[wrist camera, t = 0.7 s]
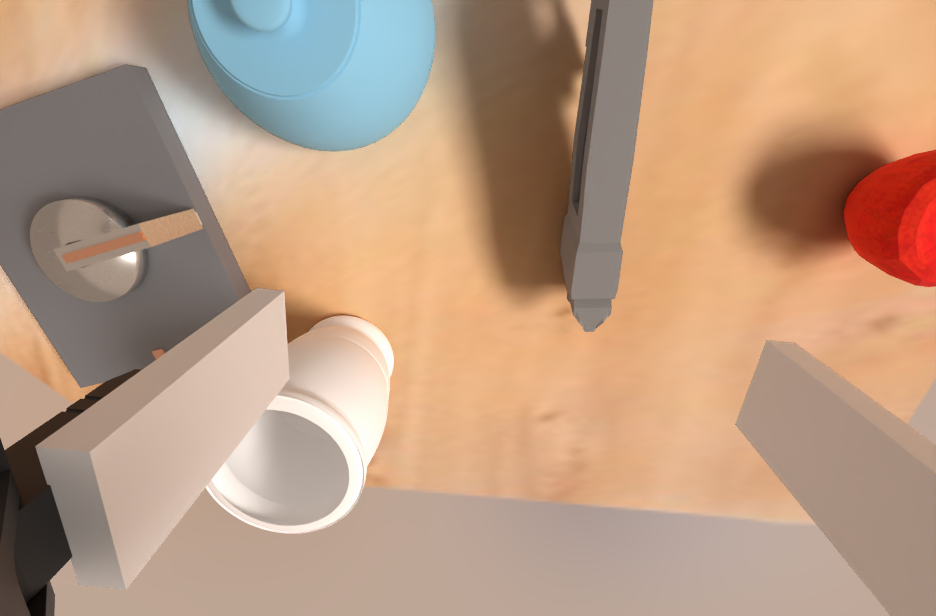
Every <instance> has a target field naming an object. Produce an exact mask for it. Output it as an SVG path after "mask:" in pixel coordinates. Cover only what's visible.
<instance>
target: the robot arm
mask: <svg viewBox="0 0 936 616" xmlns="http://www.w3.org/2000/svg"><path fill="white" fill-rule="evenodd" d="M289 379H290V377H289V360H288V343H287V326H286V309H285V293H284V291H281V290H271V289H261V288H256V289H254V290H253V291H252V292H250V293H249V294H247V295H246V296H245V297H243V298H242V299H240V300H239V301H238V302H236V303H235V304H233V305H232V306H231V307H229V308H228V309H226V310H225V311H224V312H222V313H221V314H219V315H218V316H217V317H215V318H214V319H212V320H211V321H210V322H208V323H207V324H205V325H204V326H203V327H201V328H200V329H198V330H197V331H196V332H194V333H193V334H191V335H190V336H189V337H187V338H186V339H184V340H183V341H182V342H180V343H179V344H177V345H176V346H175V347H173V348H172V349H171V350H169V351H168V352H166V353H165V354H164V355H162V356H161V357H159V358H158V359H157V360H155V361H154V362H152V363H151V364H150V365H148V366H147V367H145V368H144V369H143V370H141V369H134V370H132V371H130V372H127V373H125V374H122V375H120V376H117V377H115V378H113V379H110V380H108V381H106V382H105V383H103V384H102V385H100V386H99V387H97V388H96V389H94V390H93V391H91V392H90V393H88V394H87V395H85V399H80V400H78V401H77V402H75V403H74V404H72V405H71V406H69V407H68V408H67V410H66V412H61V413H59V414H58V415H56V416H55V417H53V418H52V419H50V420H49V421H47V422H46V423H44V424H43V425H41V426H40V427H38V428H37V429H35V430H34V431H33V432H31V433H30V434H28V435H27V436H25V437H24V438H22V439H21V440H19V441H18V442H16V443H15V444H13V445H12V446H10V447H9V448H7V449H6V450H4V448H3V445H2V442H1V439H0V616H54V607H55V594H54V591H53V589H52V586H51V583H50V580H51V578H52V577H53V576H54V575H55V574H56V573H57V572H58V571H59V570H60V569H61V568H62V567H63V566H64V565H65V564H66V563H67V562H68V561H69V560H70V559H71V561H72V565H73V568H74V571H75V574H76V577H77V581H78V584H79V585H84V586H93V587H103V588H113V589H122V590H126V589H127V588H128V586H129V585H130V584H131V583H132V581H133V580H134V579H135V578H136V576H137V575H138V574H139V572H140V571H141V570H142V568H143V567H144V566H145V565H146V563H147V562H148V561H149V559H150V558H151V557H152V556H153V554H154V553H155V552H156V551H157V549H158V548H159V547H160V545H161V544H162V543H163V541H164V540H165V539H166V538H167V536H168V535H169V534H170V532H171V531H172V530H173V528H174V527H175V526H176V525H177V523H178V522H179V521H180V520H181V518H182V517H183V516H184V514H185V513H186V512H187V510H188V509H189V508H190V507H191V505H192V504H193V503H194V501H195V500H196V499H197V498H198V496H199V495H200V494H201V492H202V491H203V490H204V489H205V487H206V486H207V485H208V483H209V482H210V481H211V480H212V478H213V477H214V476H215V474H216V473H217V472H218V471H219V469H220V468H221V467H222V465H223V464H224V463H225V461H226V460H227V459H228V458H229V456H230V455H231V454H232V452H233V451H234V450H235V449H236V447H237V446H238V445H239V443H240V442H241V441H242V440H243V438H244V437H245V436H246V434H247V433H248V432H249V431H250V429H251V428H252V427H253V425H254V424H255V423H256V421H257V420H258V419H259V418H260V416H261V415H262V414H263V412H264V411H265V410H266V409H267V407H268V406H269V405H270V403H271V402H272V401H273V400H274V398H275V397H276V396H277V394H278V393H279V392H280V391H281V389H282V388H283V387H284V385H285V384H286V383H287V381H288V380H289ZM735 425H736V426H737V427H738V429H739V430H740V431H741V432H742V433H743V435H744V436H745V437H746V438H747V440H748V441H749V442H750V443H751V445H752V446H753V447H754V448H755V449H756V451H757V452H758V453H759V454H760V456H761V457H762V458H763V459H764V461H765V462H766V463H767V464H768V465H769V467H770V468H771V469H772V470H773V472H774V473H775V474H776V475H777V477H778V478H779V479H780V480H781V481H782V483H783V484H784V485H785V486H786V488H787V489H788V490H789V491H790V493H791V494H792V495H793V496H794V497H795V499H796V500H797V501H798V502H799V504H800V505H801V506H802V507H803V509H804V510H805V511H806V512H807V513H808V515H809V516H810V517H811V518H812V520H813V521H814V522H815V523H816V525H817V526H818V527H819V528H820V530H821V531H822V532H823V533H824V534H825V535H826V537H827V538H828V539H829V541H830V542H831V543H832V544H833V546H834V547H835V548H836V549H837V550H838V552H839V553H840V554H841V555H842V557H843V558H844V559H845V560H846V561H847V563H848V564H849V565H850V566H851V568H852V569H853V570H854V571H855V573H856V574H857V575H858V576H859V577H860V579H861V580H862V581H863V582H864V584H865V585H866V586H867V587H868V588H869V590H870V591H871V592H872V594H873V595H874V596H875V597H876V598H877V600H878V601H879V602H880V603H881V604H882V606H883V607H884V608H885V610H886V611H887V612H888V613H889V614H890V616H936V445H935V444H934V443H932V442H931V441H930V440H928V439H927V438H925V437H924V436H923V435H921V434H920V433H919V432H917V431H916V430H915V429H913V428H912V427H910V426H909V425H908V424H906V423H905V422H903V421H902V420H901V419H899V418H898V417H897V416H895V415H894V414H892V413H891V412H890V411H888V410H887V409H886V408H884V407H883V406H881V405H880V404H879V403H877V402H876V401H874V400H873V399H872V398H870V397H869V396H868V395H866V394H865V393H863V392H862V391H861V390H859V389H858V388H857V387H855V386H854V385H852V384H851V383H850V382H848V381H847V380H845V379H844V378H843V377H841V376H840V375H839V374H837V373H836V372H834V371H833V370H832V369H830V368H829V367H828V366H826V365H825V364H823V363H822V362H821V361H819V360H818V359H816V358H815V357H814V356H812V355H811V354H810V353H808V352H807V351H805V350H804V349H803V348H801V347H800V346H799V345H797V344H796V343H791V342H781V341H771V340H766V343H765V346H764V349H763V351H762V354H761V357H760V359H759V362H758V365H757V367H756V370H755V373H754V375H753V378H752V381H751V384H750V386H749V389H748V392H747V394H746V397H745V400H744V402H743V405H742V408H741V410H740V413H739V416H738V419H737V421H736V424H735Z"/></svg>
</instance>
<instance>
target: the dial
mask: <svg viewBox="0 0 936 616" xmlns="http://www.w3.org/2000/svg"><path fill="white" fill-rule="evenodd" d="M201 229H203V227H202V225H201V223H200V221H199V219H198V217H197V215H196V213H195V210H194V209H190V210H186V211H183V212H179V213H175V214H172V215H168V216H164V217H161V218H157V219H153V220H150V221H146V222H142V223H139V224H134V223H133V222H132V221H131V220H130V218H129V217H127V216H126V215H125V214H124V213H123V212H122V211H120V210H119V209H118V208H116V207H114V206H113V205H111V204H109V203H107V202H104V201H102V200H98V199H95V198H89V197H78V198H71V199H65V200H59V201H55V202H52V203H49V204H47V205H46V206H44V207H43V208H41V209H40V210H39V211H38V212H37V214H36V215H35V217H34V219H33V221H32V224H31V228H30V243H31V248H32V251H33V254H34V257H35V259H36V261H37V263H38V265H39V266H40V268H41V269H42V271H43V272H44V273H45V274H46V276H47V277H48V278H49V279H50V280H51V281H52V282H53V283H54V284H55V285H57V286H58V287H59V288H60V289H62V290H63V291H65V292H67V293H68V294H70V295H72V296H74V297H77V298H79V299H83V300H86V301H91V302H106V301H111V300H114V299H116V298H119V297H121V296H123V295H125V294H127V293H129V292H131V291H133V290H135V289H136V288H137V287H139V286H140V284H141V283H142V282H143V280H144V279H145V277H146V274H147V271H148V267H149V255H148V250H147V248H150V247H153V246H156V245H158V244H161V243H164V242H167V241H170V240H172V239H175V238H178V237H181V236H184V235H187V234H189V233H192V232H195V231H198V230H201Z"/></svg>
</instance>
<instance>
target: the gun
mask: <svg viewBox="0 0 936 616" xmlns="http://www.w3.org/2000/svg"><path fill="white" fill-rule="evenodd" d="M652 7H653V0H591V8H590V15H589V23H588V31H587V38H586V54H585V61H584V69H583V78H582V85H581V92H580V99H579V106H578V114H577V121H576V128H575V135H574V144H573V156H572V167H571V179H570V191H569V203H568V212H567V213H566V215H565V216H564V222H563V229H562V236H561V245H560V254H561V262H562V266H563V274H564V281H565V285H566V289H567V299H568V301H569V302H570V304H571V308H572V312H573V315H574V316H575V317H576V319H577V320H578V322H579V323H580V324H581V326H582V327H583V329H584V331H585V332H594V331H595V329H596V328H597V327H598V326H599V325H601V324H602V323H603V322H604V321H605V320H606V318H607V317H608V316H609V315H610V314H611V308H612V306H611V299H614V298H615V296H616V293H617V289H618V283H619V276H620V269H621V261H622V254H623V251H622V247H621V244H620V241H621V235H622V229H623V222H624V216H625V210H626V203H627V197H628V191H629V185H630V178H631V172H632V166H633V159H634V151H635V143H636V136H637V128H638V120H639V112H640V105H641V97H642V89H643V82H644V74H645V66H646V59H647V50H648V42H649V33H650V25H651V16H652Z"/></svg>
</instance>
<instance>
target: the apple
mask: <svg viewBox="0 0 936 616" xmlns="http://www.w3.org/2000/svg"><path fill="white" fill-rule="evenodd" d="M844 220H845V225H846V230H847V235H848V240H849V241H850V243H851V245H852V246H853V248H854V250H855V251H856V252H857V253H858V254H859V256H861V257H862V258H864V259H865V260H866V261H868V262H869V263H871V264H873V265H874V266H876V267H877V268H879V269H881V270H882V271H884V272H885V273H887V274H889V275H891V276H893V277H896V278H898V279H901V280H903V281H906V282H908V283H911V284H914V285H918V286H925V287H933V286H936V150H933V151H928V152H923V153H919V154H914V155H911V156H909V157H906V158H903V159H900V160H897V161H894V162H892V163H889V164H886V165H884V166H882V167H880V168H879V169H877V170H875V171H873V172H872V173H871V174H869V175H868V176H866V177H865V178H864V179H862V180H861V181H860V182H858V184H857V185H856V186H855V188H854V189H853V190H852V192H851V193H850V195H849V196H848V197H847V200H846V205H845V209H844Z"/></svg>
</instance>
